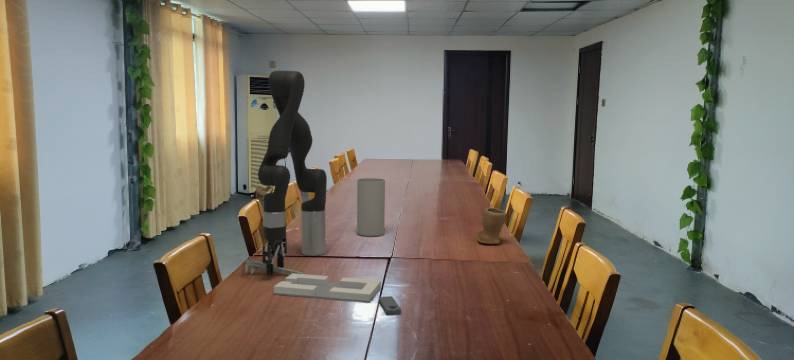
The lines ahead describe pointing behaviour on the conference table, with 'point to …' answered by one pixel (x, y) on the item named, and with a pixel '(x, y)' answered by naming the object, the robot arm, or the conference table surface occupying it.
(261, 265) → the caliper
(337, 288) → the case insert
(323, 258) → the conference table surface
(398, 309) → the bracket
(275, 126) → the robot arm
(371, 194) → the cylinder vase
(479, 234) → the brown boot-shaped vase
